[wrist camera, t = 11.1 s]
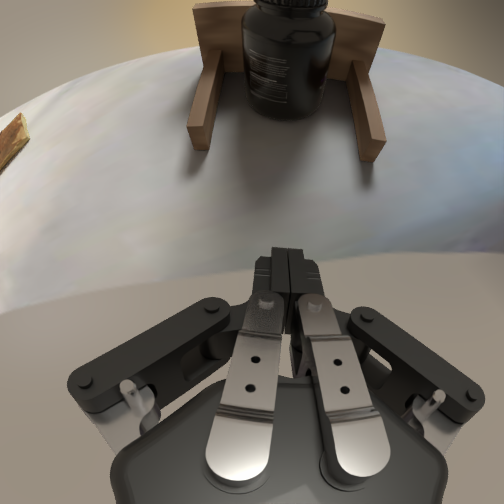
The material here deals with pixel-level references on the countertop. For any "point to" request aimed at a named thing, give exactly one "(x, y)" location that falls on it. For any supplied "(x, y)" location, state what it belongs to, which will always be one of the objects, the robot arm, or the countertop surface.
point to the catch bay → (341, 68)
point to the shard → (13, 139)
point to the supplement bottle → (286, 56)
